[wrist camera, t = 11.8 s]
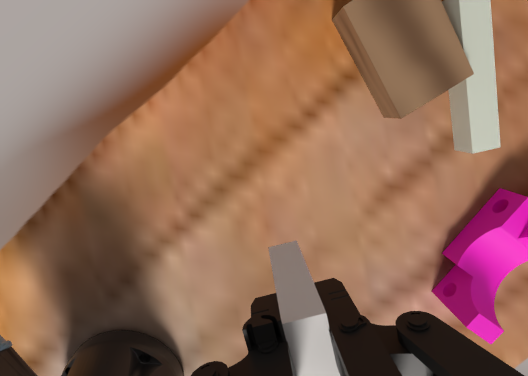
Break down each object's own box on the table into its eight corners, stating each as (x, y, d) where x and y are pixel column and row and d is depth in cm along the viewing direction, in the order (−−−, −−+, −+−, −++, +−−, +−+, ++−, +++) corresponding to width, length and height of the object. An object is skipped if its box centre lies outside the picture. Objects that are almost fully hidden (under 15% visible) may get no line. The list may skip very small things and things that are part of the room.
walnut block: (382, 117, 38) (401, 118, 33) (331, 20, 36) (343, 6, 31) (445, 78, 37) (474, 73, 33) (397, -24, 35) (420, -45, 30)
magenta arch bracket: (498, 187, 40) (552, 204, 33) (534, 216, 41) (594, 239, 34) (416, 280, 43) (449, 315, 36) (451, 305, 44) (490, 344, 37)
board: (453, 149, 39) (472, 153, 36) (438, 3, 36) (458, -8, 32) (478, 143, 39) (500, 147, 36) (466, -3, 36) (489, -16, 32)
